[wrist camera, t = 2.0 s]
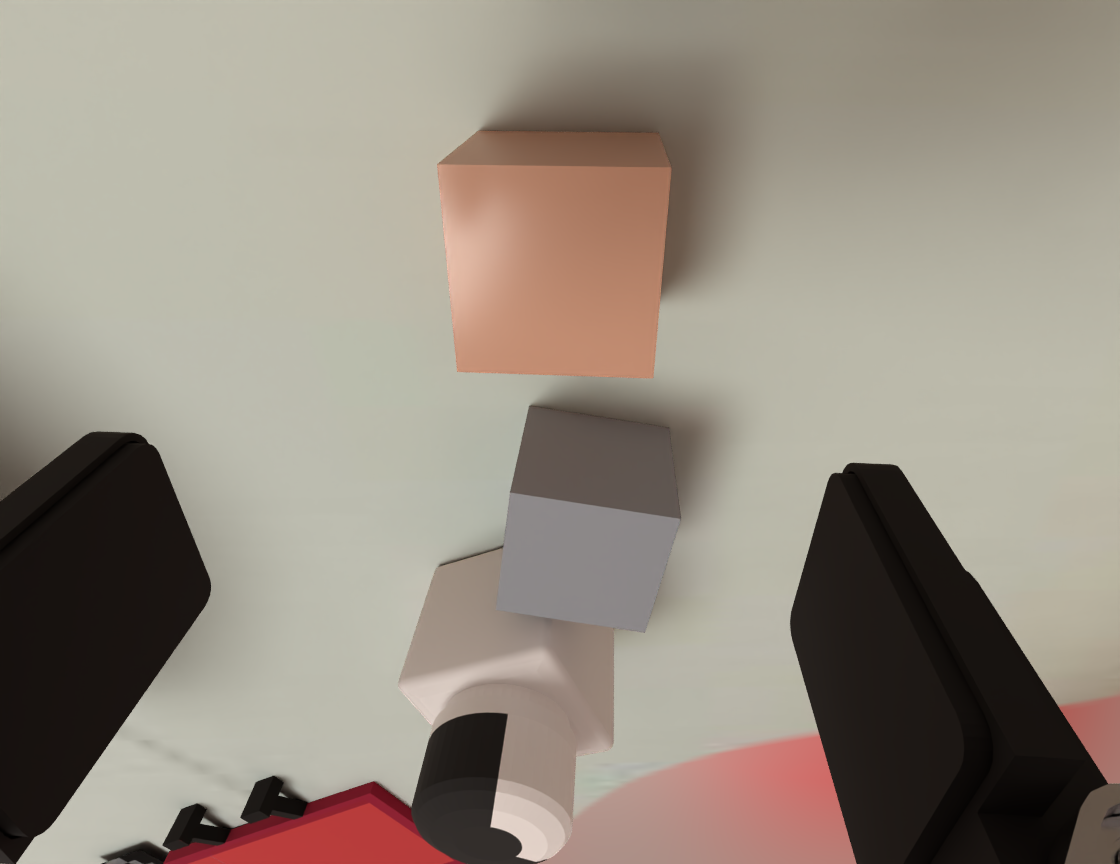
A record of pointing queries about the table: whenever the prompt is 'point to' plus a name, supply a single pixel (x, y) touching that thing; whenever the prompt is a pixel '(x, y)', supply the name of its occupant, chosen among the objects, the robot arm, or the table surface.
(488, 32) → the table surface
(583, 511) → the slate cube
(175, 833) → the red board with handle
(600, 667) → the medicine bottle
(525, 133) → the terracotta cube
